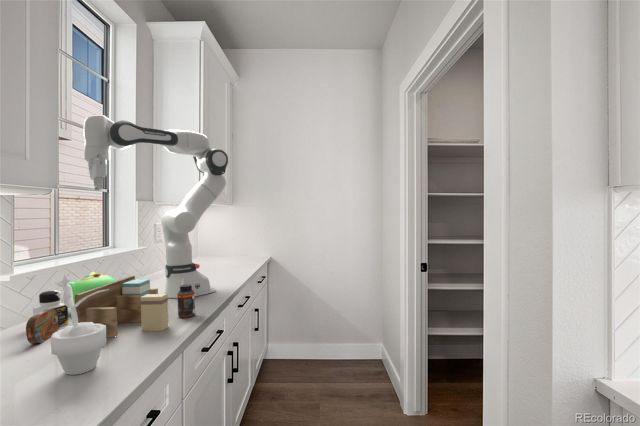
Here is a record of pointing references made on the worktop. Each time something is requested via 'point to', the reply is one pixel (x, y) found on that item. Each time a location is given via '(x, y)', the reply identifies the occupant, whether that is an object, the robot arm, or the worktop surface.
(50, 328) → the tin
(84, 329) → the potted plant
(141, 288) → the teal tall rectangular block
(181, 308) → the supplement bottle
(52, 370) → the worktop surface
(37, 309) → the medicine bottle
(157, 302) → the book box
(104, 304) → the pantry shelf
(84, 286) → the toy bird
